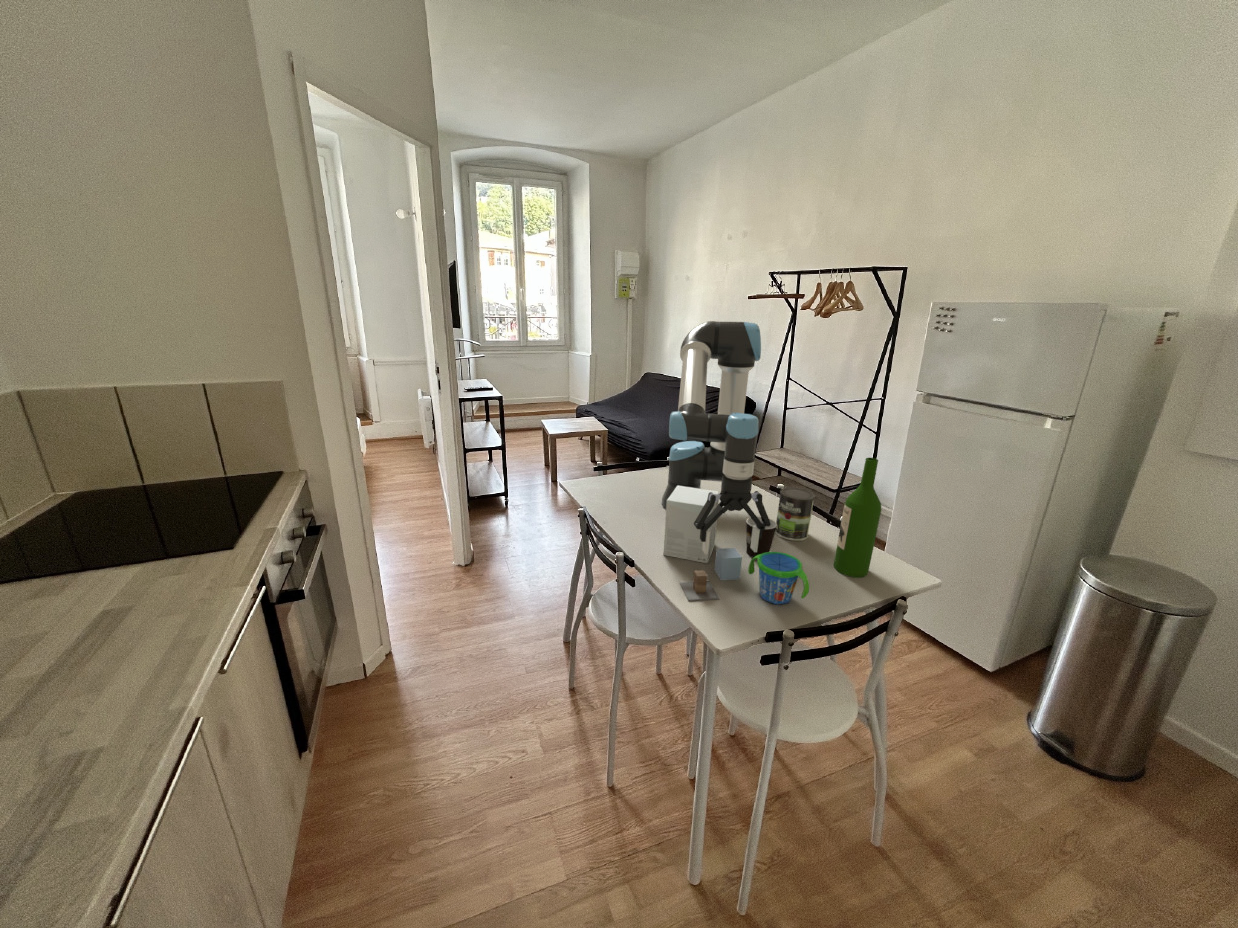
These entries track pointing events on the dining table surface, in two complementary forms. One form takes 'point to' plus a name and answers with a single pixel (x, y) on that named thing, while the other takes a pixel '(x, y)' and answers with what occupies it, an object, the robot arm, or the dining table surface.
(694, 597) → the grey square base
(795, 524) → the coffee can
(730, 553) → the light blue block
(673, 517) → the supplement box
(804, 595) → the snack cup
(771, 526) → the coffee mug
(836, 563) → the wine bottle
